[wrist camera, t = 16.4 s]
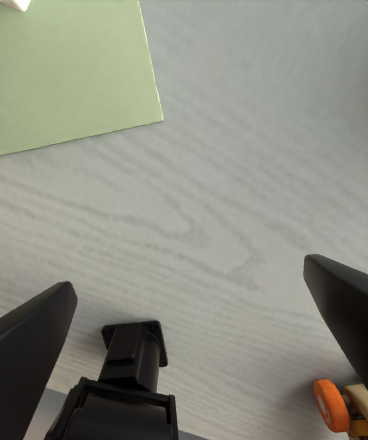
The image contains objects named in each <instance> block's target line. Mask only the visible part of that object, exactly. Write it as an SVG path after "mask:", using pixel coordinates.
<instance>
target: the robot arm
mask: <svg viewBox="0 0 368 440" xmlns="http://www.w3.org/2000/svg"><path fill="white" fill-rule="evenodd" d="M303 275H304V280H305V282H306V284H307V286H308V288H309V290H310V293H311V295H312V297H313V299H314V301H315V303H316V305H317V307H318V309H319V312H320V314H321V316H322V317H323V319H324V321H325V323H326V324H327V326H328V328H329V329H330V331H331V332H332V334H333V336H334V337H335V339H336V341H337V342H338V344H339V345H340V347H341V349H342V350H343V352H344V354H345V355H346V357H347V359H348V360H349V362H350V363H351V365H352V367H353V368H354V370H355V372H356V373H357V375H358V376H359V378H360V380H361V381H362V383H363V385H364V386H365V388H366V389H367V391H368V274H366V273H363V272H361V271H358V270H356V269H353V268H351V267H348V266H346V265H344V264H341V263H339V262H336V261H334V260H331V259H329V258H326V257H324V256H321V255H319V254H311V255H306V256H305V259H304V272H303ZM76 306H77V296H76V293H75V291H74V288H73V286H72V284H71V282H69V281H65V282H58V283H57V284H55V285H53V286H52V287H50V288H48V289H47V290H45V291H43V292H42V293H40V294H39V295H37V296H35V297H34V298H32V299H30V300H29V301H27V302H25V303H24V304H22V305H21V306H19V307H17V308H16V309H14V310H12V311H11V312H9V313H7V314H6V315H4V316H3V317H1V318H0V440H23V438H24V436H25V433H26V431H27V429H28V427H29V424H30V422H31V420H32V417H33V415H34V412H35V410H36V408H37V406H38V403H39V401H40V399H41V396H42V394H43V392H44V389H45V387H46V385H47V382H48V380H49V378H50V375H51V373H52V371H53V368H54V366H55V364H56V361H57V359H58V357H59V354H60V352H61V350H62V347H63V345H64V342H65V340H66V337H67V334H68V331H69V328H70V325H71V321H72V318H73V315H74V312H75V309H76ZM155 325H156V326H155ZM105 330H106V331H105ZM101 332H102V336H103V339H104V342H105V345H106V348H107V351H108V352H107V354H106V357H105V361H104V364H103V367H102V370H101V372H100V375H99V378H98V381H95V380H90V379H87V378H86V377H81V378H80V380H79V383H78V385H75V387H74V388H72V389H70V391H69V394H68V396H67V398H66V401H65V403H64V405H63V407H62V409H61V411H60V413H59V414H58V416H57V417H56V419H55V421H54V422H53V424H52V425H51V427H50V429H49V430H48V432H47V434H46V436H45V438H44V440H178V426H177V415H176V403H175V396H174V395H169V396H168V395H163V394H158V393H156V392H157V382H158V373H159V367H165V366H167V365H168V358H167V353H166V348H165V344H164V339H163V334H162V329H161V324H160V322H158V321H149V322H139V323H129V324H120V325H110V326H104V327H103V329H102V331H101Z"/></svg>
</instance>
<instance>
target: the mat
mask: <svg viewBox="0 0 368 440" xmlns="http://www.w3.org/2000/svg"><path fill="white" fill-rule="evenodd" d="M160 121H164V119H163V115H162V110H161V105H160V100H159V95H158V91H157V86H156V81H155V76H154V71H153V67H152V62H151V57H150V52H149V47H148V43H147V38H146V33H145V28H144V23H143V19H142V14H141V9H140V4H139V0H31V1H30V3H29V5H28V7H27V9H26V11H24V12H21V11H19V10H17V9H14V8H12V7H10V6H8V5H5V4H3V3H1V2H0V156H1V155H6V154H11V153H15V152H20V151H25V150H29V149H34V148H39V147H43V146H48V145H53V144H57V143H62V142H67V141H71V140H76V139H81V138H85V137H90V136H95V135H99V134H104V133H109V132H114V131H118V130H123V129H128V128H132V127H137V126H142V125H146V124H151V123H156V122H160Z"/></svg>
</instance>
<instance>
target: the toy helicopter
mask: <svg viewBox="0 0 368 440" xmlns="http://www.w3.org/2000/svg"><path fill="white" fill-rule="evenodd" d="M313 392H314V396H315V400H316V403H317V406H318V408H319V411H320V413H321V415H322V418H323V419H324V421H325V423H326V425H327V426H328V428H329V429H330V430H331V431H333V432H335V433H338V432H347V434H348V437H349V440H368V391H367V389H366V388H365V386H364V385H363V384H361V385H358V384H357V385H350V386H346V387H344V390H343V393H342V396H341V395H340V393H339V391H338V389H337V388H336V386H335V385H334V384H333V383H332V382H331V381H330V380H328V379H321V380H316V381H314V383H313Z"/></svg>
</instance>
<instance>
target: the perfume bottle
mask: <svg viewBox="0 0 368 440" xmlns="http://www.w3.org/2000/svg"><path fill="white" fill-rule="evenodd" d="M30 1H31V0H0V2H1V3H3V4H5V5H8V6H10V7H12V8H14V9H17V10H19V11H21V12H24V11H26V9H27V7H28V5H29V3H30Z"/></svg>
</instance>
